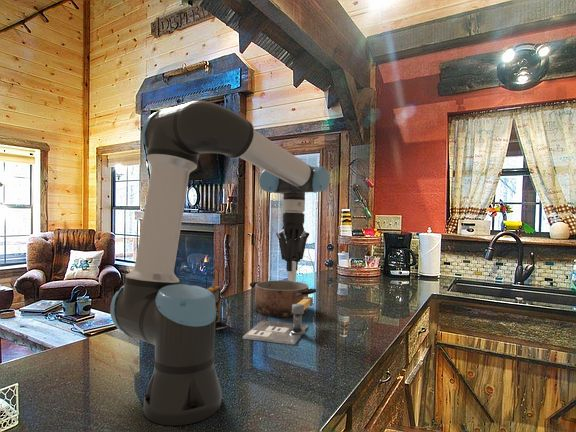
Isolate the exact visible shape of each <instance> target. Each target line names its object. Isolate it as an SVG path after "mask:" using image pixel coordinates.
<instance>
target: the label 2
mask: <svg viewBox="0 0 576 432" xmlns="http://www.w3.org/2000/svg"><path fill="white" fill-rule="evenodd" d="M288 330H289V328H283V327H274V326H269V327H268V328H267V329H266V330H265V331H267V332H274V333H283V334H285V333H286V332H287V331H288Z"/></svg>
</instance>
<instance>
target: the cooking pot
mask: <svg viewBox="0 0 576 432" xmlns="http://www.w3.org/2000/svg"><path fill="white" fill-rule="evenodd" d="M249 286H250V287H251V288H254V291H255V293H254V310H255V312H256V313H257V314H259V313H260V315H262V314H263V316H266V315H267V316H268V317H273V316H274V318H292V317H293V315H294V314H293V313H292V305H293V304H297V303H299V302H300V301H301V300H303V297H309V295H311V294H315V293H317V289H316V288H309V285H308V284H307V283H304V282H300V281H290V280H264V281H253V282H250V283H249ZM308 309H309V307H308V308H306V309H305V310H304V313H303V314H302V316H303V315H305V314H307V312H308Z"/></svg>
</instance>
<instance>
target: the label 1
mask: <svg viewBox="0 0 576 432" xmlns="http://www.w3.org/2000/svg"><path fill="white" fill-rule="evenodd" d="M249 331H250V330H249ZM249 331H248V332H249ZM272 333H273V332H267V331H258V330H252V331H250V332H249V333H248V334H247V336H254V337H263V338H268V337H269V336H270V335H271V334H272Z"/></svg>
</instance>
